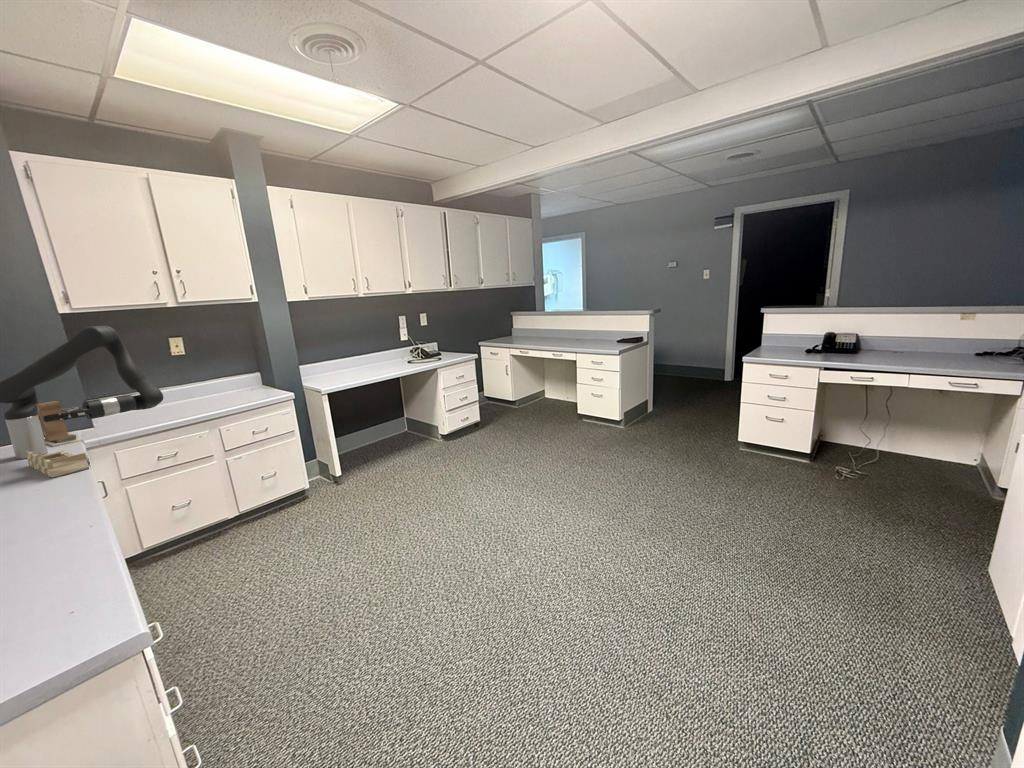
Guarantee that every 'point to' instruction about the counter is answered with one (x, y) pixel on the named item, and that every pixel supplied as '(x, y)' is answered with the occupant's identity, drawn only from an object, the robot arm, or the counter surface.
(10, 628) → the counter surface
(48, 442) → the packaged product
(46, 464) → the box
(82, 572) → the counter surface
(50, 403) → the walnut block
